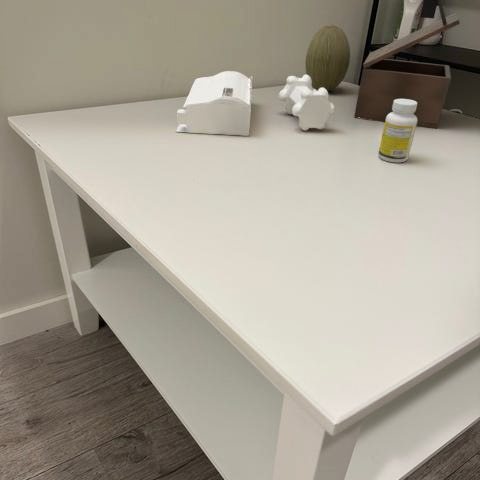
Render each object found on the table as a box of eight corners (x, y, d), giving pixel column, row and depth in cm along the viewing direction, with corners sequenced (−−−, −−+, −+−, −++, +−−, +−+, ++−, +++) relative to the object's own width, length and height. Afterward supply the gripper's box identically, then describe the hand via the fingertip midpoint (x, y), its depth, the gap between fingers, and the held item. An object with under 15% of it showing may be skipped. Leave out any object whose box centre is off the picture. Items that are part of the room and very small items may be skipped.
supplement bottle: (388, 150, 91) (401, 95, 85) (413, 159, 88) (428, 102, 82) (371, 156, 88) (383, 100, 82) (396, 165, 85) (411, 107, 79)
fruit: (352, 90, 128) (363, 26, 119) (331, 98, 121) (341, 29, 112) (315, 83, 134) (324, 20, 124) (293, 89, 127) (300, 23, 117)
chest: (436, 111, 116) (449, 65, 110) (436, 128, 104) (451, 78, 98) (361, 102, 120) (369, 57, 113) (353, 117, 108) (363, 68, 102)
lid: (456, 16, 104) (446, -29, 100) (459, 23, 93) (448, -27, 89) (370, 56, 113) (358, 17, 109) (364, 68, 102) (350, 24, 98)
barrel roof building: (189, 100, 114) (189, 67, 109) (251, 103, 114) (252, 71, 110) (175, 132, 94) (174, 94, 90) (250, 136, 94) (252, 99, 90)
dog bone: (333, 132, 99) (339, 90, 94) (292, 132, 97) (297, 89, 92) (312, 111, 110) (317, 73, 105) (275, 112, 109) (279, 72, 104)
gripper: (440, -129, 94) (410, 10, 108) (442, -145, 79) (406, 19, 93) (481, -129, 92) (444, 12, 106) (491, -145, 77) (446, 22, 91)
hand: (427, 15), depth 99 cm, fingers closed on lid, 7 cm apart
